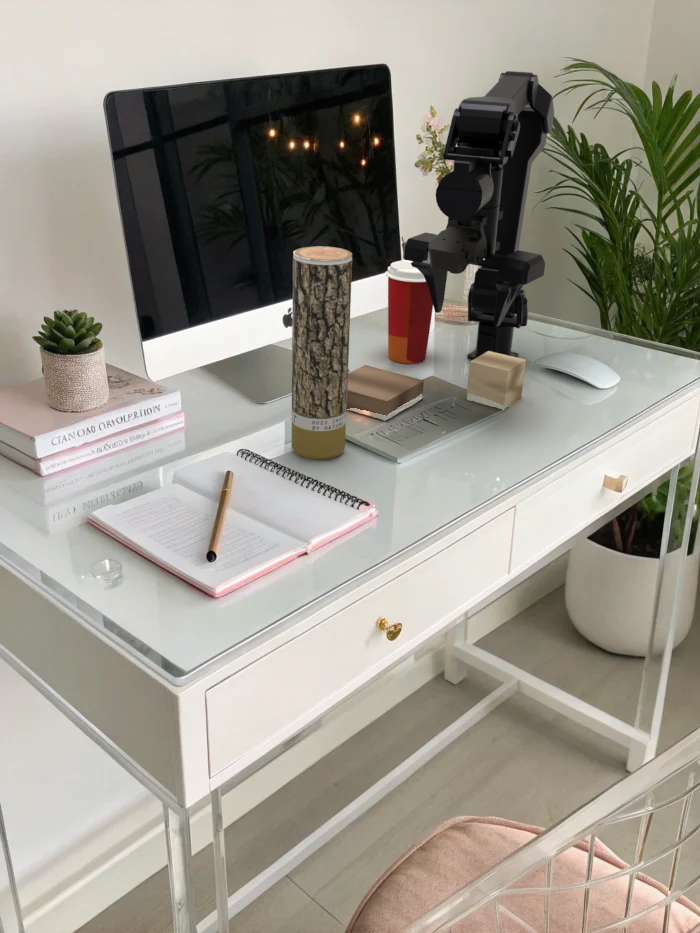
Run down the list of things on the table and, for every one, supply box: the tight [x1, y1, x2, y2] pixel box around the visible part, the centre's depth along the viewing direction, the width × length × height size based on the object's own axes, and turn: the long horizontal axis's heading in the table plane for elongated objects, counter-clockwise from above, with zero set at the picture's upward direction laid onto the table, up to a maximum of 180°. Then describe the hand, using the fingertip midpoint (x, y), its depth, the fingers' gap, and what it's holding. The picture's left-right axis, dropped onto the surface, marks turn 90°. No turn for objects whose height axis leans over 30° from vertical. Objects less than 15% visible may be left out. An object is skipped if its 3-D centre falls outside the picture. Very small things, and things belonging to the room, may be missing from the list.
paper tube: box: [291, 245, 353, 461], centre depth 111 cm, size 7×7×25 cm
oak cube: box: [466, 351, 527, 407], centre depth 133 cm, size 6×6×6 cm
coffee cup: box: [384, 259, 434, 365], centre depth 145 cm, size 8×8×15 cm
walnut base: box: [347, 364, 425, 416], centre depth 131 cm, size 10×10×3 cm
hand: (466, 319), depth 127 cm, fingers open, 9 cm apart
